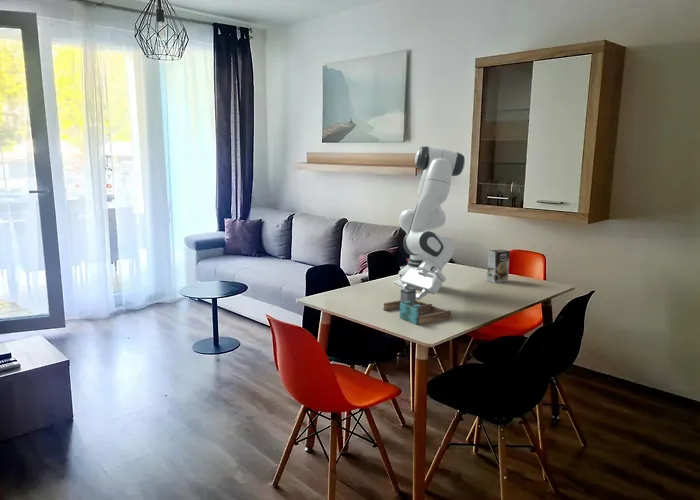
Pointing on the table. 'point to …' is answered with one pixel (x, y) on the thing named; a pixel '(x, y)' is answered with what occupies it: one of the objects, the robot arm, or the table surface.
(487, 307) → the table surface
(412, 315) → the frame
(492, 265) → the coffee box
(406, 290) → the tall grey block
